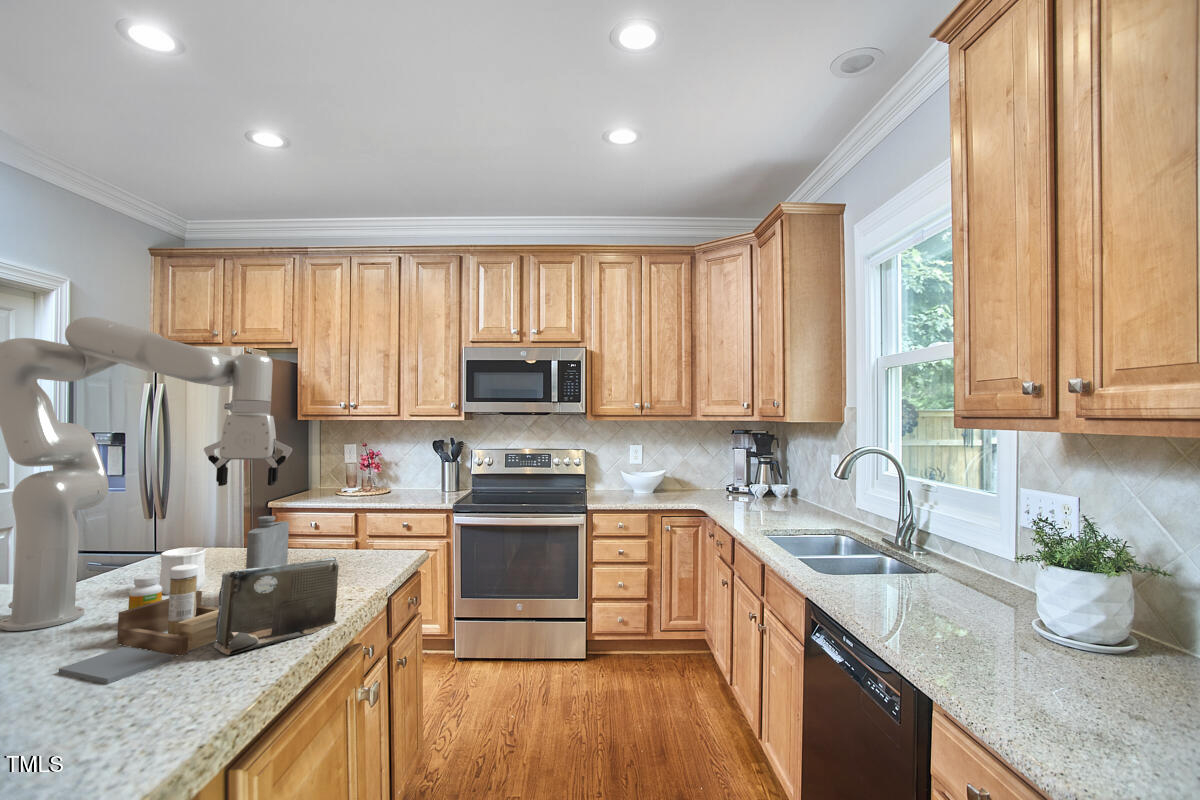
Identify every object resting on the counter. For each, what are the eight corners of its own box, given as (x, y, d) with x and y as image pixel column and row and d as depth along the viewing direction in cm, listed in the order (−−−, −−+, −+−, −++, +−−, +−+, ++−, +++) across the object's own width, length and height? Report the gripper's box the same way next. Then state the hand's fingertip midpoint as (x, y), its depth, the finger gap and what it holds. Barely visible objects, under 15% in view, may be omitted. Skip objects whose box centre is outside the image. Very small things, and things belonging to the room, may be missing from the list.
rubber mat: (58, 673, 93) (58, 668, 93) (125, 650, 102) (125, 646, 102) (107, 684, 89) (107, 678, 89) (171, 659, 99) (172, 654, 99)
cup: (196, 582, 147) (198, 545, 148) (212, 588, 141) (213, 550, 142) (152, 590, 139) (154, 551, 140) (166, 597, 134) (168, 557, 134)
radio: (333, 616, 122) (335, 548, 123) (351, 625, 117) (354, 554, 117) (208, 647, 105) (212, 567, 105) (223, 659, 99) (226, 575, 100)
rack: (116, 644, 105) (118, 612, 105) (195, 618, 119) (196, 590, 120) (180, 656, 100) (182, 622, 100) (254, 628, 114) (256, 598, 115)
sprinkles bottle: (197, 629, 113) (200, 562, 114) (192, 636, 109) (195, 567, 110) (169, 632, 111) (173, 564, 112) (163, 640, 107) (167, 570, 108)
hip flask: (256, 611, 125) (260, 521, 126) (237, 611, 124) (241, 522, 125) (288, 590, 140) (291, 511, 141) (271, 591, 140) (274, 511, 141)
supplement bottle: (141, 629, 113) (144, 580, 114) (120, 626, 114) (123, 579, 115) (167, 620, 118) (169, 574, 119) (146, 618, 119) (149, 572, 120)
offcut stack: (172, 648, 103) (173, 624, 104) (227, 628, 114) (228, 606, 114) (187, 651, 102) (188, 626, 102) (242, 630, 113) (243, 608, 113)
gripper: (200, 407, 119) (195, 487, 118) (289, 409, 124) (285, 486, 123) (213, 408, 126) (209, 483, 125) (297, 410, 131) (294, 483, 130)
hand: (247, 485), depth 124 cm, fingers open, 9 cm apart
